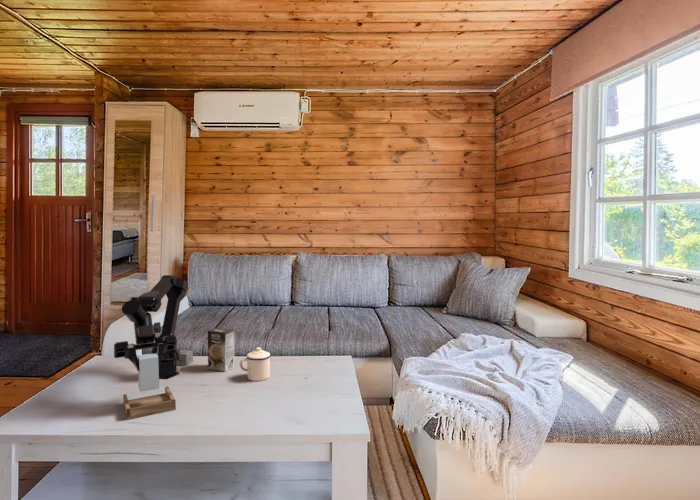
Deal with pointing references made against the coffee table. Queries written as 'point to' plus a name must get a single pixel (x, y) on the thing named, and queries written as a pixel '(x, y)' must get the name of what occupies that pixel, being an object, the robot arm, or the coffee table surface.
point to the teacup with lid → (257, 365)
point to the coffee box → (220, 349)
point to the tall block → (148, 372)
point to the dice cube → (185, 358)
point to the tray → (149, 404)
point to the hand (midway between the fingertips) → (148, 369)
